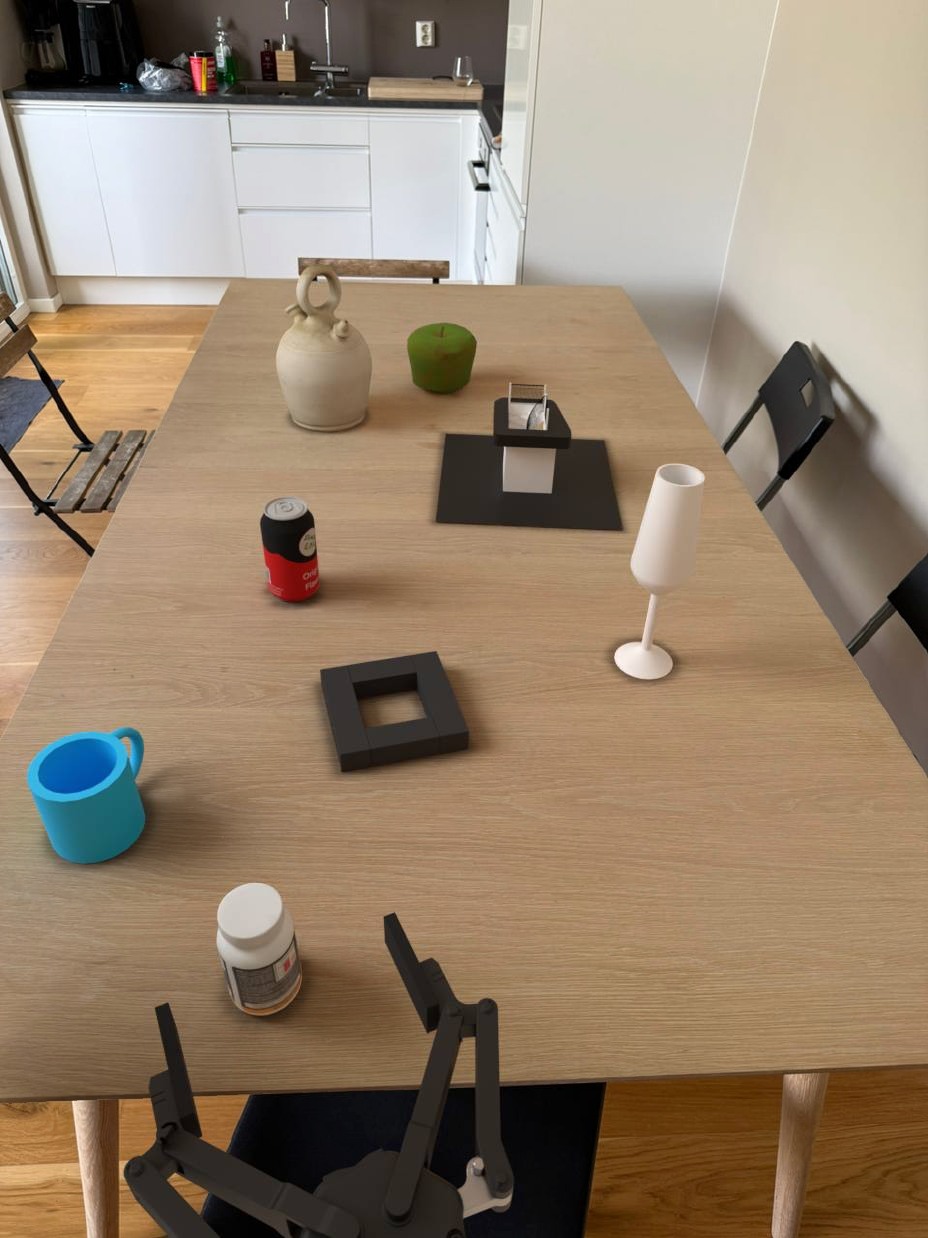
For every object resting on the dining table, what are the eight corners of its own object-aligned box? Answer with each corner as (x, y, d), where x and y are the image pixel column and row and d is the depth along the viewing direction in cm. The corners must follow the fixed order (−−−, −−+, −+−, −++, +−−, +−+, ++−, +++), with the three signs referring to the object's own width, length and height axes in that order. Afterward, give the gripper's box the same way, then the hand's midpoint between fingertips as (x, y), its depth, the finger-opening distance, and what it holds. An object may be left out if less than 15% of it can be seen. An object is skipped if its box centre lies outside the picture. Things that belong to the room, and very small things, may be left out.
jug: (270, 407, 154) (253, 256, 138) (354, 392, 159) (347, 246, 144) (298, 444, 143) (284, 285, 128) (387, 427, 149) (383, 273, 133)
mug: (111, 874, 77) (89, 812, 72) (31, 850, 79) (5, 788, 74) (184, 776, 86) (170, 715, 82) (111, 756, 88) (93, 695, 83)
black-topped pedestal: (622, 530, 125) (636, 444, 117) (435, 522, 125) (436, 435, 117) (604, 440, 147) (614, 362, 139) (445, 434, 147) (447, 355, 139)
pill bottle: (316, 967, 71) (306, 892, 65) (275, 1031, 67) (261, 957, 61) (256, 940, 73) (241, 865, 67) (213, 1001, 69) (193, 926, 62)
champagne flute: (610, 672, 101) (642, 485, 86) (618, 637, 106) (649, 454, 91) (670, 684, 99) (713, 496, 85) (675, 648, 104) (716, 464, 90)
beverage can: (275, 610, 108) (264, 525, 101) (264, 581, 113) (253, 499, 105) (325, 599, 110) (318, 516, 103) (313, 572, 114) (305, 490, 107)
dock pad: (341, 772, 87) (340, 754, 86) (321, 686, 97) (319, 669, 96) (468, 748, 91) (469, 731, 89) (436, 667, 100) (436, 650, 99)
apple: (419, 370, 168) (419, 310, 161) (482, 378, 166) (484, 318, 159) (398, 396, 159) (397, 333, 152) (464, 405, 156) (466, 342, 149)
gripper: (144, 1590, 35) (75, 1093, 50) (658, 1269, 44) (470, 928, 59) (101, 1562, 31) (40, 1024, 46) (684, 1210, 40) (473, 857, 55)
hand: (282, 969), depth 53 cm, fingers open, 13 cm apart
